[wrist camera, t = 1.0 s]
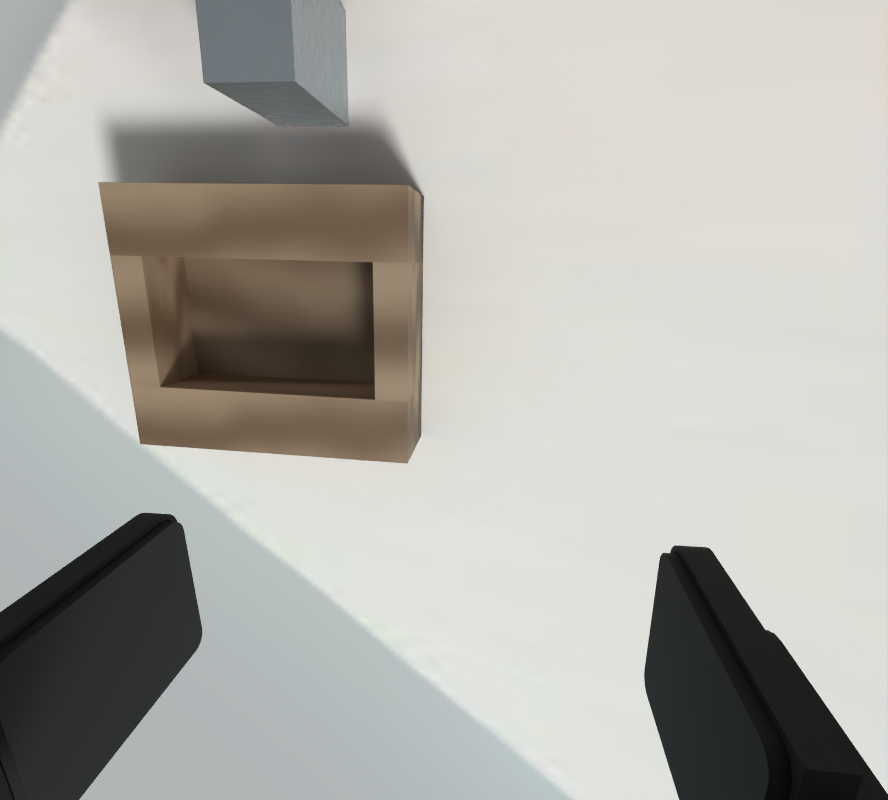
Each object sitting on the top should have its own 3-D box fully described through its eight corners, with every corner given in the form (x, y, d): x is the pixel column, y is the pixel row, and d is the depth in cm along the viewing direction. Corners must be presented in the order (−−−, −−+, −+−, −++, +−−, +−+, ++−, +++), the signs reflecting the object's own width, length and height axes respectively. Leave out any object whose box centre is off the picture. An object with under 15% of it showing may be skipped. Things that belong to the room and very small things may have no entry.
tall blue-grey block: (271, 13, 29) (188, -74, 21) (345, 10, 29) (286, -80, 21) (278, 126, 31) (203, 82, 23) (348, 125, 30) (295, 81, 23)
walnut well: (157, 193, 33) (98, 182, 28) (423, 196, 31) (408, 184, 26) (187, 420, 37) (140, 443, 33) (420, 435, 35) (407, 463, 30)
